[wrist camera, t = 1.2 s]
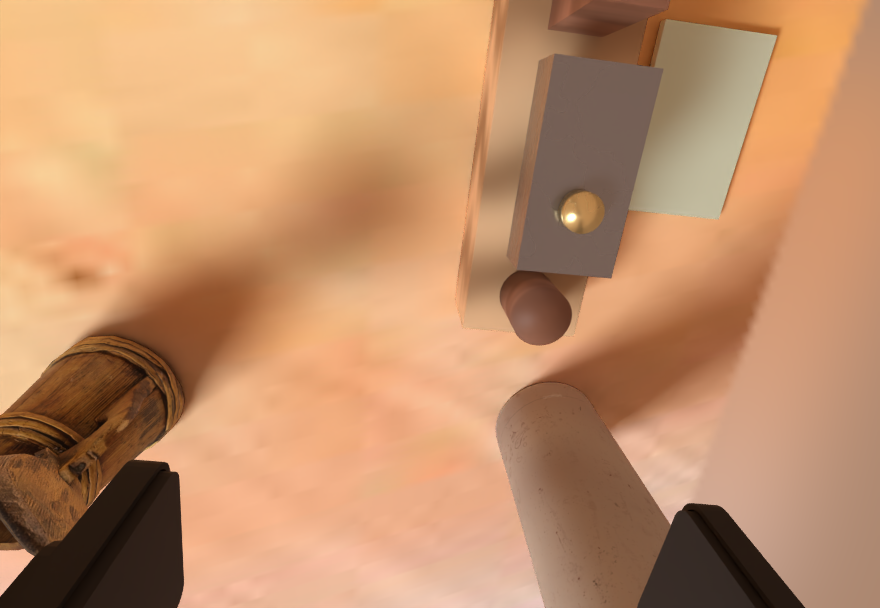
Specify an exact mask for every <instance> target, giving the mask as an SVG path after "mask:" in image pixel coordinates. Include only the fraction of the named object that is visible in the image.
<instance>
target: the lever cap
mask: <svg viewBox="0 0 880 608" xmlns="http://www.w3.org/2000/svg"><path fill="white" fill-rule="evenodd" d="M663 70H664V69H663V68H655V67H648V66H641V65H634V64H627V63H619V62H612V61H605V60H598V59H590V58H583V57H576V56H569V55H562V54H552V55H550V56H548V57H546V58H543V59H541V60H539V62H538V69H537V75H536V81H535V87H534V93H533V99H532V105H531V111H530V117H529V123H528V129H527V135H526V141H525V147H524V153H523V159H522V165H521V171H520V177H519V183H518V189H517V195H516V201H515V207H514V213H513V219H512V225H511V231H510V237H509V243H508V249H507V255H506V256H507V258H508V259H509V260H510V262H511V263H512V264H513V266H514V267H515V268H516V270H525V271H536V272H547V273H558V274H569V275H580V276H591V277H602V278H611V277H612V273H613V269H614V265H615V261H616V257H617V253H618V249H619V245H620V241H621V237H622V233H623V229H624V225H625V221H626V217H627V213H628V209H629V205H630V201H631V197H632V193H633V189H634V185H635V181H636V177H637V173H638V169H639V165H640V161H641V157H642V153H643V149H644V145H645V141H646V137H647V133H648V129H649V125H650V121H651V117H652V113H653V109H654V105H655V102H656V98H657V94H658V90H659V86H660V82H661V78H662V74H663Z"/></svg>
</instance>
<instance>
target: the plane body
mask: <svg viewBox="0 0 880 608" xmlns="http://www.w3.org/2000/svg"><path fill="white" fill-rule="evenodd" d="M669 3H670V0H494V6H493V14H492V22H491V29H490V37H489V44H488V52H487V60H486V67H485V75H484V83H483V90H482V98H481V105H480V113H479V121H478V128H477V136H476V143H475V151H474V159H473V166H472V174H471V181H470V189H469V197H468V204H467V212H466V220H465V227H464V235H463V242H462V250H461V258H460V265H459V273H458V280H457V288H456V296H455V301H456V305H457V309H458V313H459V316H460V320H461V324H462V327H463V328H464V329H477V330H490V331H503V332H515V333H516V334H517V336H518V337H519V338H520V339H521V340H523V341H524V342H526V343H528V344H531V345H546V344H550V343H552V342H555V341H556V340H558V339H559V338H561V337H562V336H568V337H574V334H575V329H576V325H577V321H578V317H579V312H580V308H581V304H582V299H583V295H584V291H585V286H586V282H587V278H588V276H580V275H569V274H558V273H547V272H536V271H525V270H516V268H515V267H514V266H513V264H512V263H511V262H510V260H509V259H508V258H507V256H506V255H507V249H508V243H509V237H510V231H511V225H512V219H513V213H514V207H515V201H516V195H517V189H518V183H519V177H520V171H521V165H522V159H523V153H524V147H525V141H526V135H527V129H528V123H529V117H530V111H531V105H532V99H533V93H534V87H535V81H536V75H537V69H538V62H539V60H541V59H543V58H546V57H548V56H550V55H552V54H562V55H569V56H576V57H583V58H590V59H598V60H605V61H612V62H619V63H627V64H634V65H637V63H638V58H639V54H640V50H641V45H642V41H643V37H644V32H645V28H646V24H647V20H648V18H649V17H651V16H654V15H656V14H658V13H661V12H663V11H665V10H668V7H669Z"/></svg>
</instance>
